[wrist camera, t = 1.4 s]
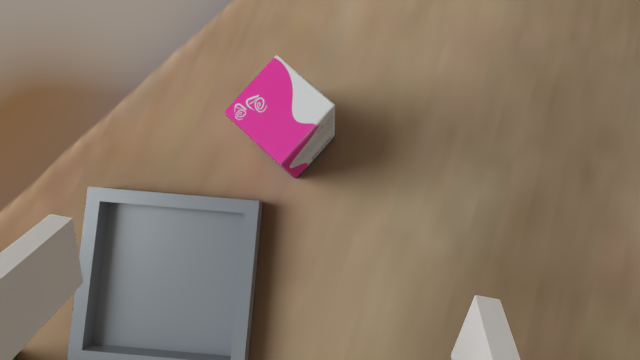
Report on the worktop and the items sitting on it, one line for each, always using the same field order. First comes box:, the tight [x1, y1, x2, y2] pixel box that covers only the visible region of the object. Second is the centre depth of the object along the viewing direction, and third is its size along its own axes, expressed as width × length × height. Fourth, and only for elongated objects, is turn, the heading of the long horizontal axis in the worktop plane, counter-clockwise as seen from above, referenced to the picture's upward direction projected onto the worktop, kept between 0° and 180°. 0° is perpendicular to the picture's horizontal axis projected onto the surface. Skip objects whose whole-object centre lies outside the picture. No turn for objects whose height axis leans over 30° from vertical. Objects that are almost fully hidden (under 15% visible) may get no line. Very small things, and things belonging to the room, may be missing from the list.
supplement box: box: [224, 56, 335, 178], centre depth 36 cm, size 6×6×12 cm
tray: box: [67, 187, 263, 360], centre depth 39 cm, size 15×15×2 cm
